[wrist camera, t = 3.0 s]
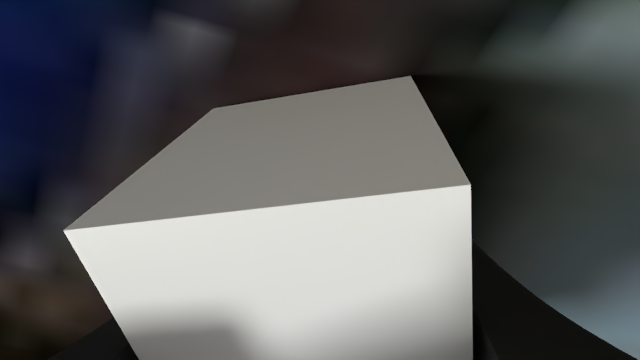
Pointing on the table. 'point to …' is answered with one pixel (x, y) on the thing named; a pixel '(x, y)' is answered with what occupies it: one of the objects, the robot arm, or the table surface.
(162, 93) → the table surface
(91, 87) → the table surface
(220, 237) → the cover
